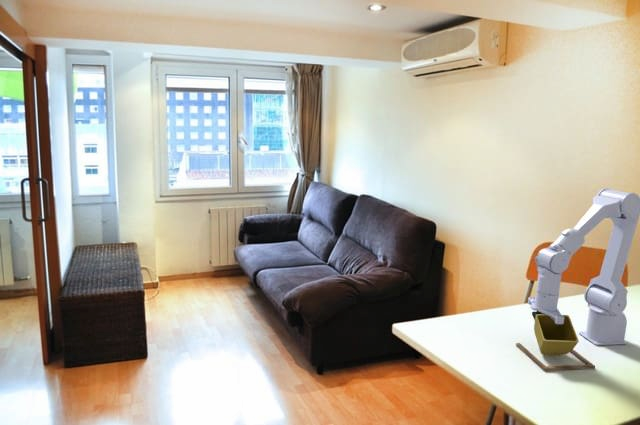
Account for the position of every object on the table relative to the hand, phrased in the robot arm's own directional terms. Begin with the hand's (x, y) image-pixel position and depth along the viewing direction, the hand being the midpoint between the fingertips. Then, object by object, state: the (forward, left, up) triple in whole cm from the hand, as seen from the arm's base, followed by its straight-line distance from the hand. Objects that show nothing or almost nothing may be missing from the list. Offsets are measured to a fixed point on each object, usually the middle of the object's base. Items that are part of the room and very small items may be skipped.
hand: (541, 337), depth 135 cm
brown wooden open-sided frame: (0, +6, -3) cm, 6 cm away
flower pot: (-1, +3, -2) cm, 4 cm away
